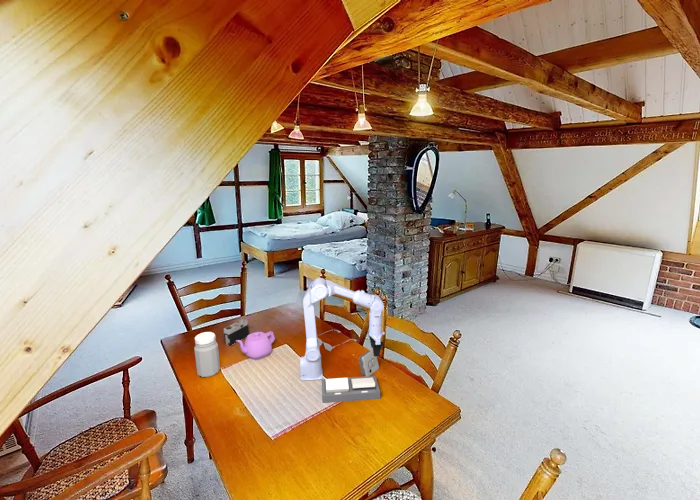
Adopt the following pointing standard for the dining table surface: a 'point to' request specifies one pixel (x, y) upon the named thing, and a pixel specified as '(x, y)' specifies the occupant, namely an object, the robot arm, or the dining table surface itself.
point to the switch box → (351, 392)
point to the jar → (206, 354)
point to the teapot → (257, 344)
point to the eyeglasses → (328, 344)
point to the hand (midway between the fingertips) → (375, 351)
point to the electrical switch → (368, 363)
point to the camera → (236, 332)
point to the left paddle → (337, 385)
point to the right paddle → (363, 382)
